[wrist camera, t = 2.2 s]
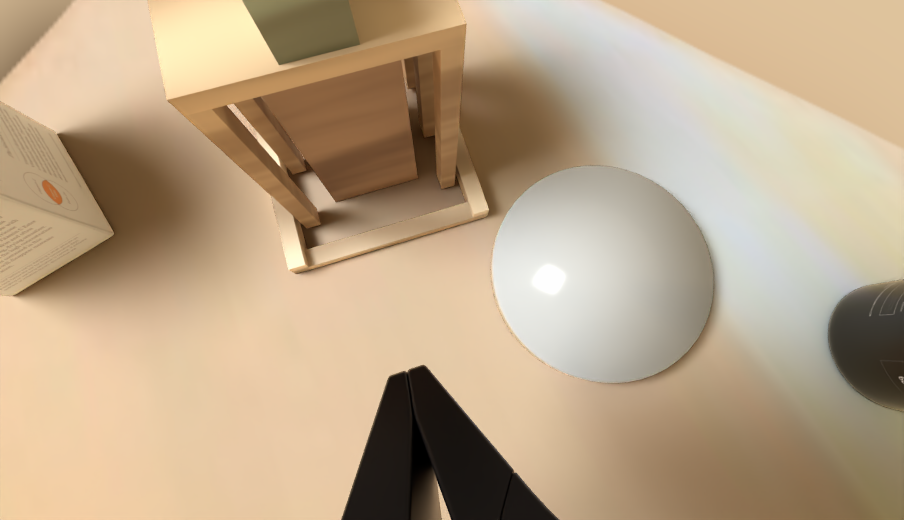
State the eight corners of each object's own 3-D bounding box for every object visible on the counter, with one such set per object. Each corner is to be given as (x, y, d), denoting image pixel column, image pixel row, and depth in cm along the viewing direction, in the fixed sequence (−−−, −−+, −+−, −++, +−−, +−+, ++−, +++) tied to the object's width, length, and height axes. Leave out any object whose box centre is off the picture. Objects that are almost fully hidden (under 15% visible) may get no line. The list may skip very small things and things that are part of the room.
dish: (601, 430, 21) (610, 435, 20) (446, 265, 23) (446, 261, 22) (742, 278, 23) (758, 274, 22) (590, 136, 25) (597, 126, 24)
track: (486, 216, 24) (491, 201, 22) (296, 273, 23) (279, 264, 21) (400, -27, 28) (396, -62, 25) (232, 14, 27) (212, -19, 24)
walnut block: (417, 178, 24) (398, 41, 14) (335, 202, 24) (249, 80, 13) (394, 106, 25) (360, -73, 15) (315, 128, 25) (220, -42, 14)
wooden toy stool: (454, 185, 24) (475, -105, 9) (306, 228, 23) (49, -8, 8) (415, 72, 26) (376, -339, 10) (276, 109, 25) (13, -277, 10)
